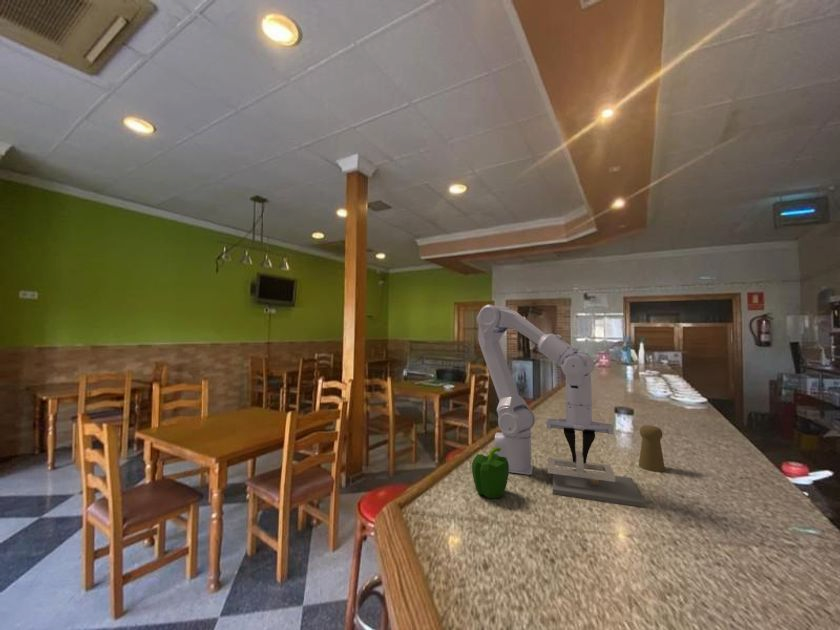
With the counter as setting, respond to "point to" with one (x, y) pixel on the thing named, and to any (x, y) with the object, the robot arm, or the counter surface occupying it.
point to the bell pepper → (490, 474)
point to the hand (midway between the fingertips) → (579, 461)
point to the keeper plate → (599, 489)
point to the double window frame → (580, 468)
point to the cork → (651, 449)
